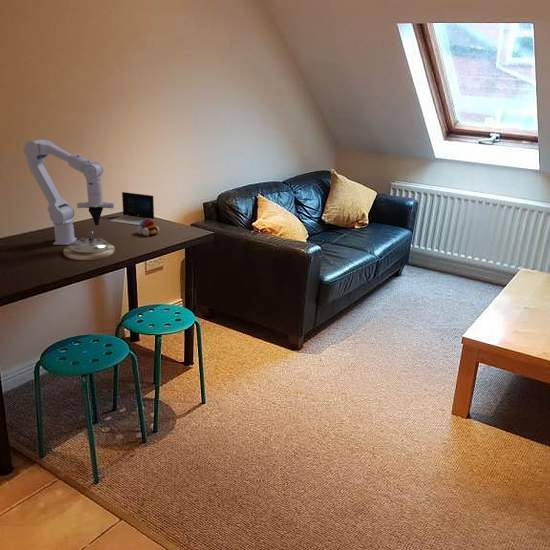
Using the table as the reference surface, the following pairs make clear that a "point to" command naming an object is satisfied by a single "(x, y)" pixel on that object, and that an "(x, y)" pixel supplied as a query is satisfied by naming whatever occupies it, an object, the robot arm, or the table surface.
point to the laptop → (136, 208)
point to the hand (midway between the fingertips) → (97, 224)
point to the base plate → (95, 256)
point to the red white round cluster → (147, 228)
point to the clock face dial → (89, 245)
